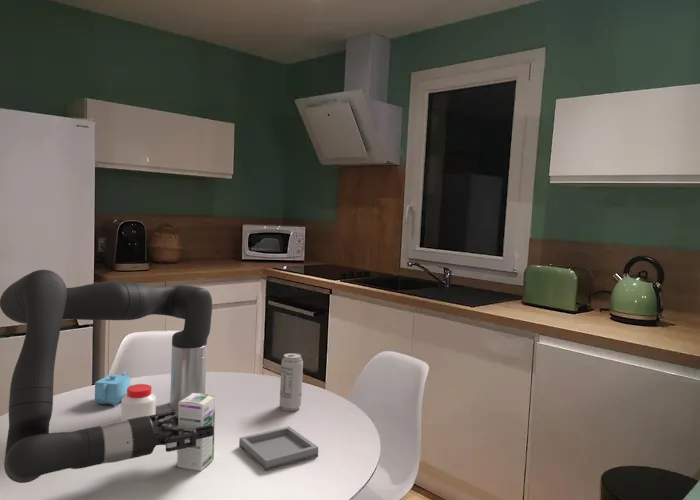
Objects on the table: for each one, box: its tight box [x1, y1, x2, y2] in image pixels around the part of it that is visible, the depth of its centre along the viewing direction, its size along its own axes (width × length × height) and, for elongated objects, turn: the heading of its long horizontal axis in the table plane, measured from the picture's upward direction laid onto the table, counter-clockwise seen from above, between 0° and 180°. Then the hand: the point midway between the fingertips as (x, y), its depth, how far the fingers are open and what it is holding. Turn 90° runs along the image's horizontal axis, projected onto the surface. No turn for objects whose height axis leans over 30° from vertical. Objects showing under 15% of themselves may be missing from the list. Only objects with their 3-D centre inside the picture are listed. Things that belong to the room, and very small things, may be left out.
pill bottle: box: [120, 383, 157, 421], centre depth 126 cm, size 8×8×11 cm
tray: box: [238, 426, 319, 472], centre depth 120 cm, size 13×13×2 cm
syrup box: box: [176, 393, 216, 472], centre depth 112 cm, size 6×6×14 cm
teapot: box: [94, 370, 131, 407], centre depth 145 cm, size 12×6×8 cm, turn 173°
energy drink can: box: [279, 352, 304, 412], centre depth 147 cm, size 6×6×15 cm
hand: (205, 423), depth 113 cm, fingers closed on syrup box, 8 cm apart
